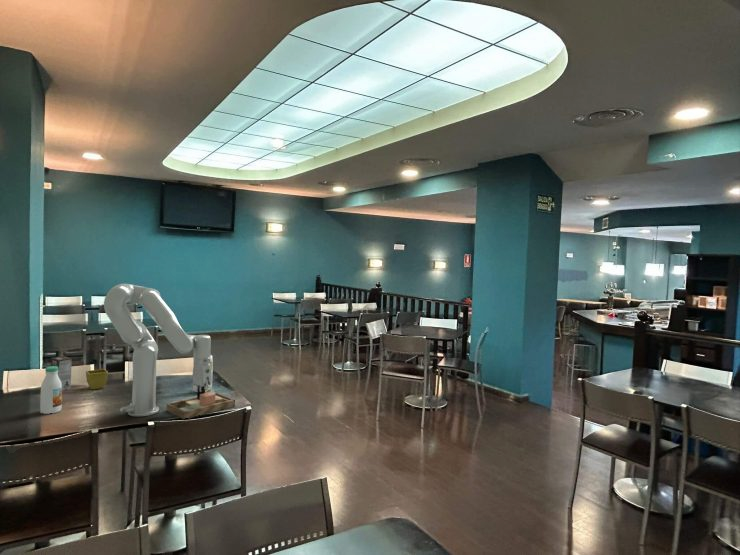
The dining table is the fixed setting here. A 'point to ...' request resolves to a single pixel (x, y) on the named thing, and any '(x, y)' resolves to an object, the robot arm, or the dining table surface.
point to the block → (207, 399)
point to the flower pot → (96, 378)
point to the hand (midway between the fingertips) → (201, 399)
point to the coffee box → (63, 370)
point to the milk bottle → (51, 392)
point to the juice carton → (208, 385)
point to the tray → (198, 406)
